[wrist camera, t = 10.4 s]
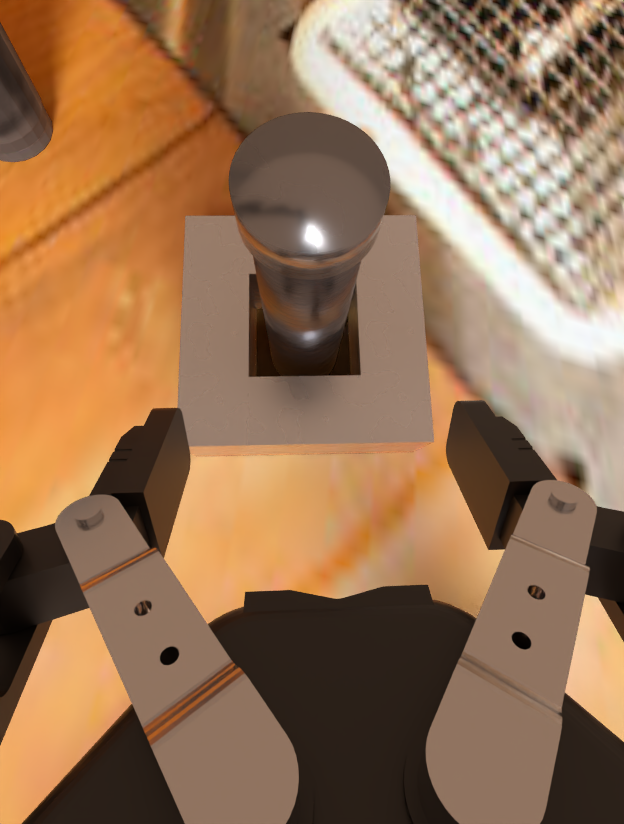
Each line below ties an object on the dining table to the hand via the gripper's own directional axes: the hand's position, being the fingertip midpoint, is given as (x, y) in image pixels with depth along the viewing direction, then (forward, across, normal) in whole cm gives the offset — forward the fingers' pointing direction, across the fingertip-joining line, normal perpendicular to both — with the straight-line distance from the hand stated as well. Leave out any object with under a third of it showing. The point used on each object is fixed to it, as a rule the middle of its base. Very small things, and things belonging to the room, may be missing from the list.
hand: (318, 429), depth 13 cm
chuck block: (+13, 0, +3) cm, 13 cm away
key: (+13, 0, +4) cm, 13 cm away
